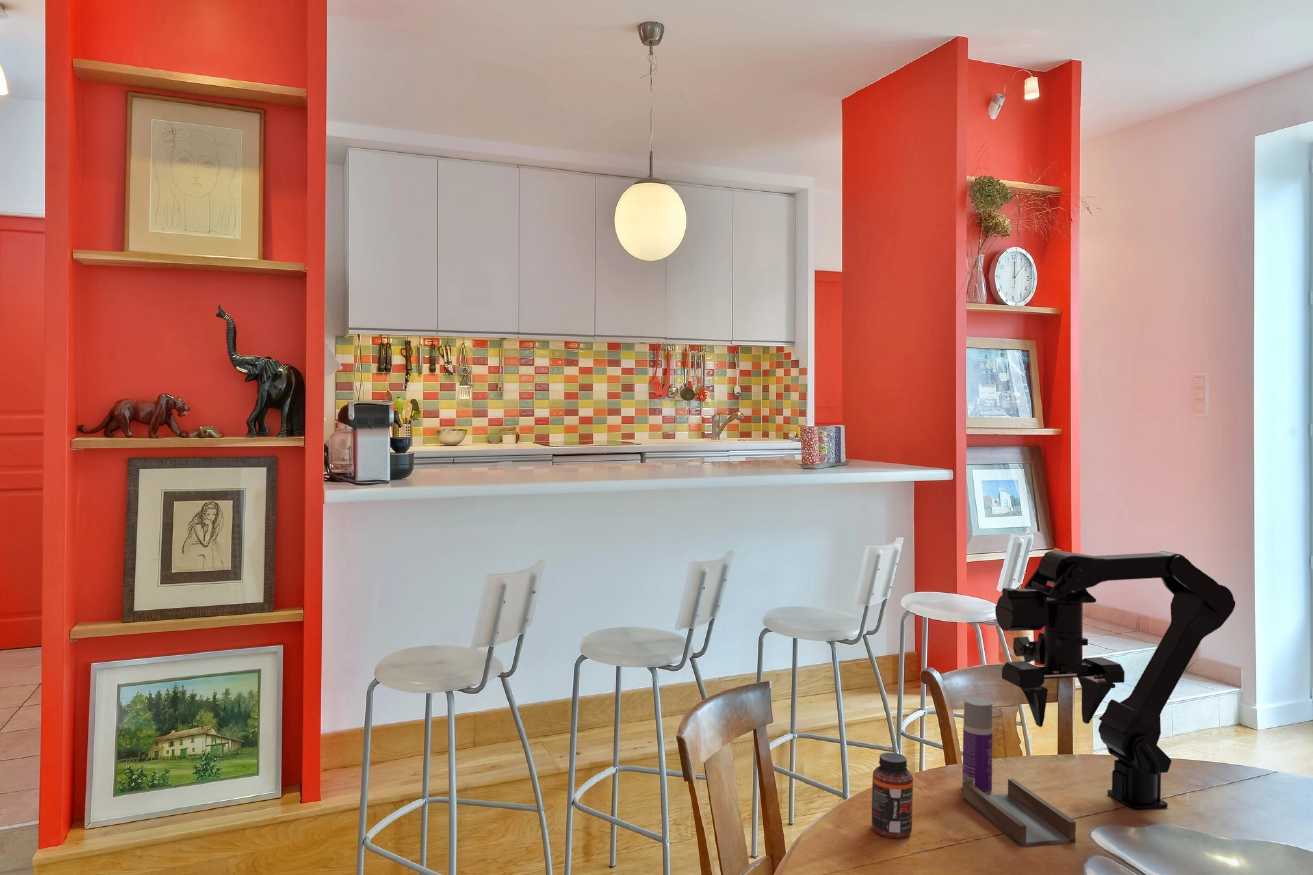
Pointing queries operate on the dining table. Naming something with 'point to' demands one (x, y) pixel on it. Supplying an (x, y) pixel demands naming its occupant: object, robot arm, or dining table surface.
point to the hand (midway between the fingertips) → (1062, 724)
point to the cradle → (1022, 815)
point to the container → (978, 743)
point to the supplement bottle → (892, 797)
